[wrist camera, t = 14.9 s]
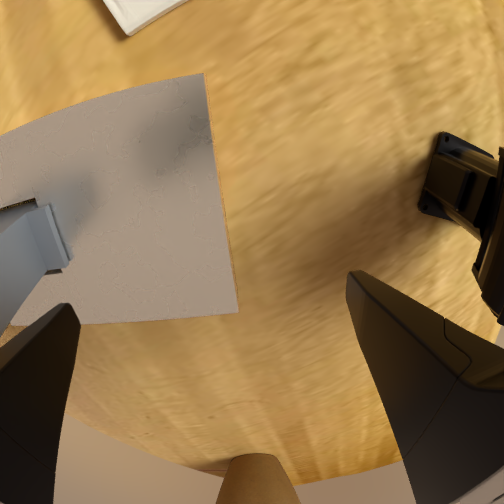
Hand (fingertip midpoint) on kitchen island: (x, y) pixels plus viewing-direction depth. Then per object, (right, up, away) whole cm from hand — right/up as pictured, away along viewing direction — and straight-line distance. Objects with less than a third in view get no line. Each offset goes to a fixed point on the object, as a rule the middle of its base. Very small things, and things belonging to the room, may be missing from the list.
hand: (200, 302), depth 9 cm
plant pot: (+2, -31, +32) cm, 45 cm away
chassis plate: (-11, +4, +11) cm, 16 cm away
